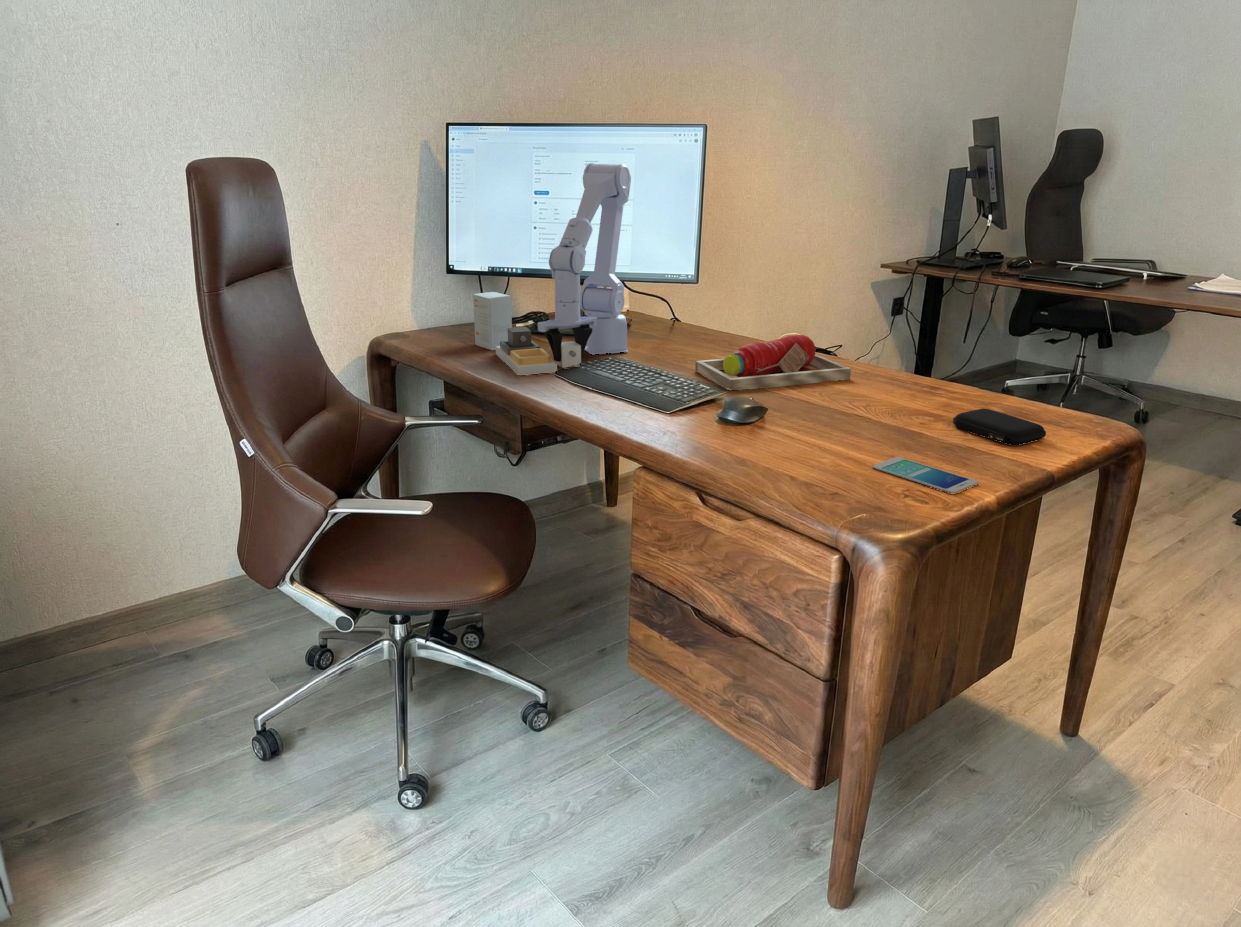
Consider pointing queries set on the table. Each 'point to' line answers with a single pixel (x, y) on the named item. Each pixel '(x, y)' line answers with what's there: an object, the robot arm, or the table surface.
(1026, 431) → the carrying case or bag
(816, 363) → the desk tray
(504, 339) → the small box
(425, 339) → the table surface
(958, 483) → the smartphone
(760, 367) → the water bottle
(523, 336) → the twin plug
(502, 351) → the white base platform
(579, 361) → the plug
